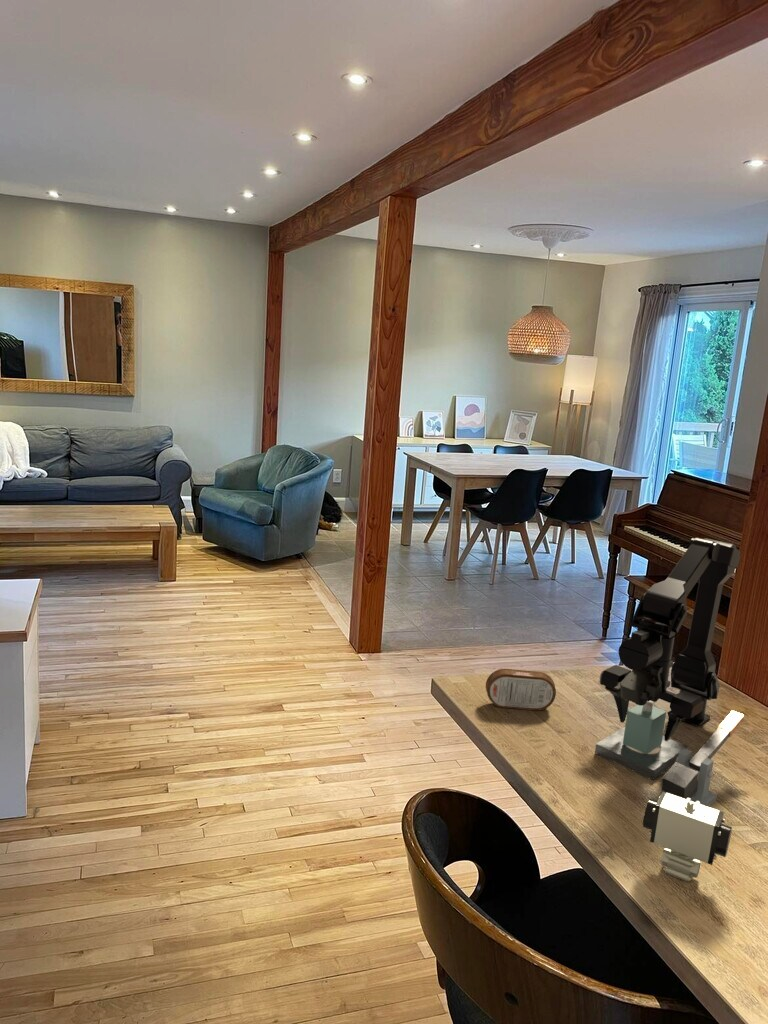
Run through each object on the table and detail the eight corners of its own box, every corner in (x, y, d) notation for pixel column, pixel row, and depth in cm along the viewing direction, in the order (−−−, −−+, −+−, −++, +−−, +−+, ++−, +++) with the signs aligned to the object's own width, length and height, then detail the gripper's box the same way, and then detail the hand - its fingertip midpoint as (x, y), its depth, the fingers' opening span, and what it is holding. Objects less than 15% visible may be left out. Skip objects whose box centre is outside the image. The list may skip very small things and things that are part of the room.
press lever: (726, 720, 148) (727, 703, 147) (747, 728, 146) (749, 710, 144) (661, 796, 132) (661, 777, 131) (683, 807, 130) (684, 788, 128)
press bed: (630, 731, 159) (631, 721, 159) (686, 755, 151) (687, 745, 150) (594, 753, 150) (596, 742, 149) (652, 780, 141) (654, 769, 141)
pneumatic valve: (717, 897, 111) (730, 824, 109) (635, 865, 117) (646, 794, 114) (723, 877, 116) (736, 806, 113) (644, 846, 122) (655, 778, 119)
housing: (637, 734, 154) (643, 692, 152) (661, 744, 150) (667, 702, 148) (622, 743, 149) (628, 701, 148) (646, 754, 146) (653, 710, 144)
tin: (552, 707, 168) (556, 671, 166) (554, 713, 165) (559, 677, 163) (483, 701, 169) (487, 665, 167) (484, 708, 166) (488, 671, 164)
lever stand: (678, 782, 141) (684, 743, 139) (715, 800, 136) (723, 759, 134) (662, 794, 137) (669, 753, 135) (701, 812, 132) (708, 770, 130)
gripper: (589, 649, 147) (579, 724, 150) (683, 684, 134) (670, 765, 137) (618, 637, 154) (609, 708, 158) (710, 668, 142) (697, 745, 145)
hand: (644, 730), depth 149 cm, fingers open, 9 cm apart
